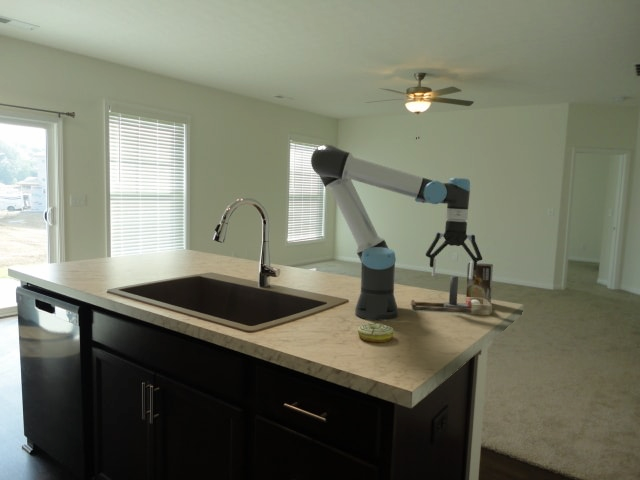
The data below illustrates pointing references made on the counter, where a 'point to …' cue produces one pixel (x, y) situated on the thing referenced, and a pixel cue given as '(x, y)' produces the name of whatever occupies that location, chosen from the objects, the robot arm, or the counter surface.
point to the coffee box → (480, 282)
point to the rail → (441, 307)
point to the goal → (481, 306)
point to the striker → (455, 296)
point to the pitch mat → (440, 311)
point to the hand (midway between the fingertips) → (451, 277)
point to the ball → (474, 302)
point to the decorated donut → (375, 332)
